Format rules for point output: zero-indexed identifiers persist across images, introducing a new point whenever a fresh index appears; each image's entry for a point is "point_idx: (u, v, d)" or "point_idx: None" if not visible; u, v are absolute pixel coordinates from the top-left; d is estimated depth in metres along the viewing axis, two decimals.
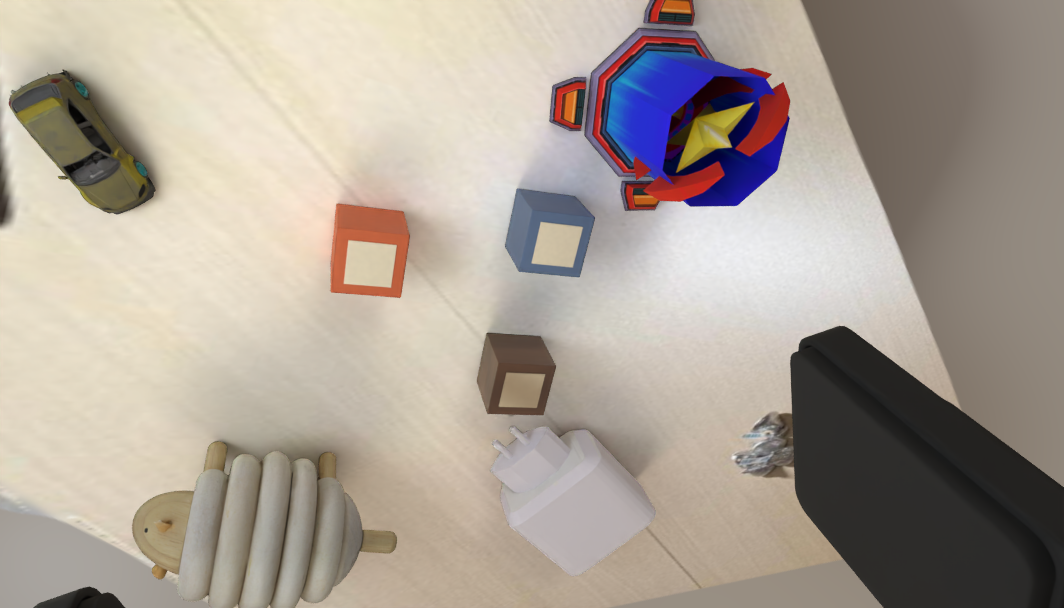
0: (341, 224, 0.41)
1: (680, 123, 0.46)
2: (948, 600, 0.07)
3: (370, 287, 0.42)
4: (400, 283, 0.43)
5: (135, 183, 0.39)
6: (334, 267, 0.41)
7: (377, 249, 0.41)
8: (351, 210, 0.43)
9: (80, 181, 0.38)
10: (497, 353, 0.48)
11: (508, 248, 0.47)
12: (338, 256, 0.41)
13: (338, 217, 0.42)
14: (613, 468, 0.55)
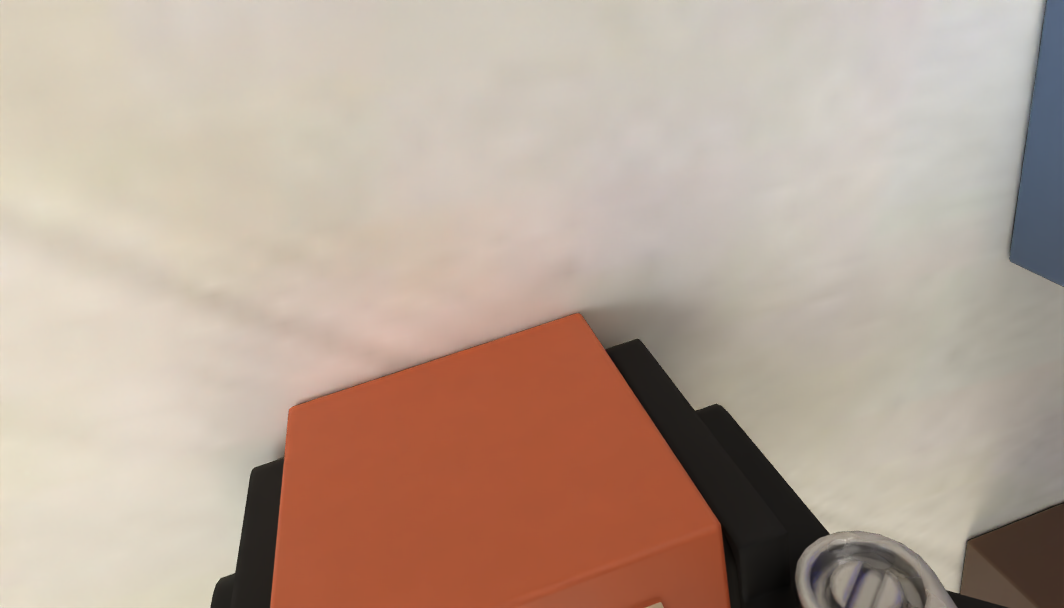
0: None
1: None
2: None
3: None
4: None
5: None
6: None
7: None
8: (353, 430, 0.09)
9: None
10: None
11: (1062, 271, 0.10)
12: None
13: (282, 542, 0.07)
14: None
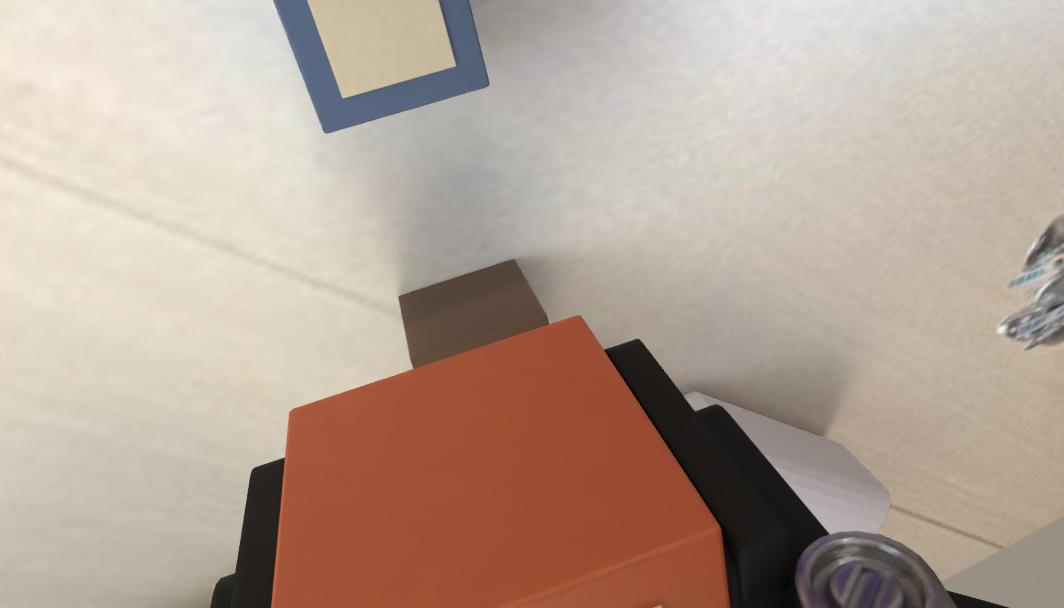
0: None
1: None
2: None
3: None
4: None
5: None
6: None
7: None
8: (353, 432, 0.09)
9: None
10: (412, 336, 0.21)
11: None
12: None
13: (283, 545, 0.07)
14: (773, 453, 0.26)
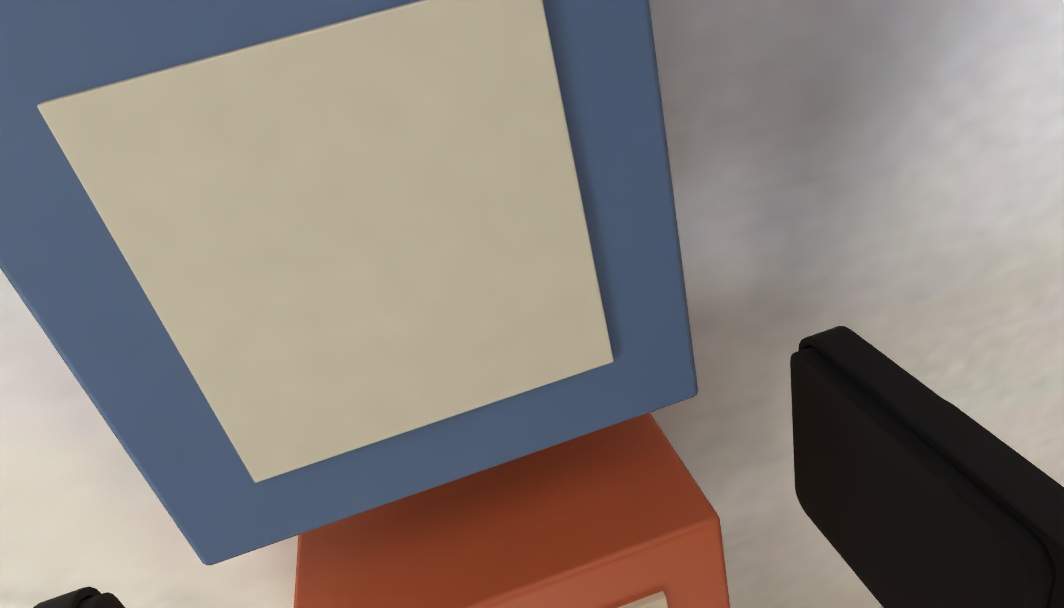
0: None
1: None
2: (949, 600, 0.07)
3: None
4: None
5: None
6: None
7: None
8: None
9: None
10: None
11: None
12: None
13: (304, 534, 0.08)
14: None
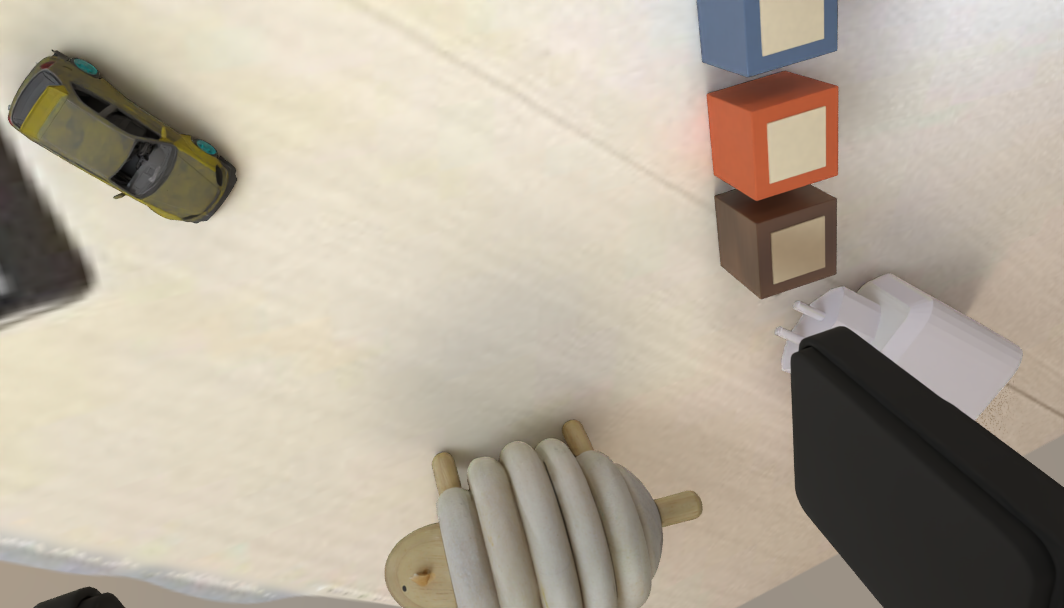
0: (750, 107, 0.30)
1: None
2: (948, 598, 0.07)
3: (801, 175, 0.32)
4: (835, 156, 0.32)
5: (206, 168, 0.28)
6: (755, 167, 0.31)
7: (802, 121, 0.31)
8: (733, 92, 0.33)
9: (141, 191, 0.28)
10: (746, 213, 0.34)
11: (711, 59, 0.32)
12: (758, 151, 0.31)
13: (733, 103, 0.31)
14: (951, 309, 0.38)
